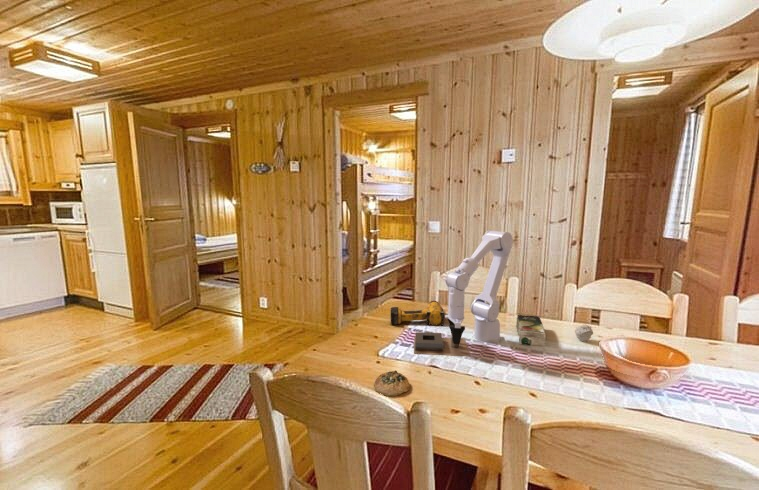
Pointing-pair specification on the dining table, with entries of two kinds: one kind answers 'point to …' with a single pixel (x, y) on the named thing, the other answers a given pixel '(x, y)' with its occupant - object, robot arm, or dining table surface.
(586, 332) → the grey rock
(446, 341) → the walnut board
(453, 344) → the metal peg
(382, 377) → the bread roll
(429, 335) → the socket block
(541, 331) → the juice carton
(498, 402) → the dining table surface
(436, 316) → the power drill
